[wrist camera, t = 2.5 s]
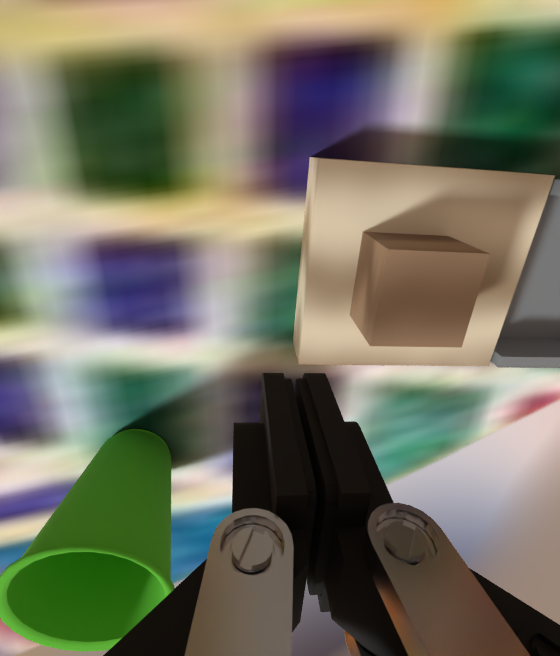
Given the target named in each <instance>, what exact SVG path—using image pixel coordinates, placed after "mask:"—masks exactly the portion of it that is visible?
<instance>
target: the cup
mask: <svg viewBox="0 0 560 656" xmlns="http://www.w3.org/2000/svg"><path fill="white" fill-rule="evenodd" d="M170 577H171V454H170V451H169V449H168V446H167V444H166V443H165V442H164V440H163V439H162V438H161V437H159V436H158V435H156V434H154V433H152V432H150V431H146V430H142V429H129V430H124V431H121V432H119V433H117V434H115V435H114V436H112V437H111V438H109V439H108V440H107V441H106V442H105V443H104V444H103V446H102V447H101V449H100V450H99V451H98V453H97V454H96V455H95V457H94V458H93V460H92V461H91V462H90V464H89V465H88V466H87V468H86V469H85V471H84V472H83V473H82V475H81V476H80V477H79V479H78V480H77V482H76V483H75V484H74V486H73V487H72V488H71V490H70V491H69V493H68V494H67V495H66V497H65V498H64V499H63V501H62V502H61V504H60V505H59V506H58V508H57V509H56V510H55V512H54V513H53V515H52V516H51V517H50V519H49V520H48V521H47V523H46V524H45V526H44V527H43V528H42V530H41V531H40V532H39V534H38V535H37V537H36V538H35V539H34V541H33V542H32V543H31V545H30V546H29V548H28V549H27V550H26V552H25V553H24V554H23V556H22V557H21V558H20V559H18V560H17V561H15V562H14V563H12V564H11V565H9V566H8V567H7V568H6V569H5V571H4V572H3V573H2V574H1V575H0V618H1V620H2V621H3V622H4V623H5V624H6V625H7V626H8V627H9V628H11V629H12V630H13V631H14V632H16V633H18V634H19V635H21V636H23V637H24V638H26V639H28V640H31V641H33V642H36V643H39V644H42V645H44V646H49V647H53V648H58V649H63V650H72V651H73V650H74V651H101V650H102V651H103V650H110V649H111V648H112V647H113V646H114V645H115V644H116V643H117V642H118V641H120V640H121V639H122V638H123V637H124V636H125V635H126V634H127V633H128V632H129V631H130V630H131V629H132V628H133V627H134V626H136V625H137V624H138V623H139V622H140V621H141V620H142V619H143V618H144V617H145V616H146V615H147V614H148V613H149V612H150V611H152V610H153V609H154V608H155V607H156V606H157V605H158V604H159V603H160V602H161V601H162V600H163V599H164V598H165V597H167V596H168V595H169V594H170V593H171V592H172V591H173V590H174V589H175V588H174V585H173V583H172V582H171V580H170Z"/></svg>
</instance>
